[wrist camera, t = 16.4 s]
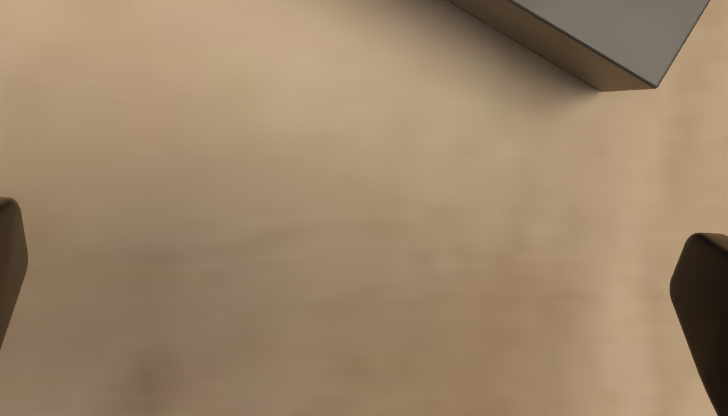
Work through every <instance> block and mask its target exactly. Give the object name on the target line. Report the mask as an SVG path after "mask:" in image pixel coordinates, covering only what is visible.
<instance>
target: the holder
mask: <svg viewBox="0 0 728 416" xmlns="http://www.w3.org/2000/svg"><path fill="white" fill-rule="evenodd" d="M447 1H449V2H450V3H452V4H454V5H456V6H457V7H459V8H461V9H462V10H464V11H466V12H467V13H469V14H471V15H472V16H474V17H476V18H478V19H479V20H481V21H483V22H484V23H486V24H488V25H489V26H491V27H493V28H494V29H496V30H498V31H500V32H501V33H503V34H505V35H506V36H508V37H510V38H511V39H513V40H515V41H516V42H518V43H520V44H522V45H523V46H525V47H527V48H528V49H530V50H532V51H533V52H535V53H537V54H538V55H540V56H542V57H543V58H545V59H547V60H549V61H550V62H552V63H554V64H555V65H557V66H559V67H560V68H562V69H564V70H565V71H567V72H569V73H571V74H572V75H574V76H576V77H577V78H579V79H581V80H582V81H584V82H586V83H587V84H589V85H591V86H593V87H594V88H596V89H598V90H599V91H601V92H608V91H624V90H641V89H656V88H657V87H658V86H659V84H660V83H661V81H662V79H663V78H664V76H665V74H666V73H667V71H668V69H669V68H670V66H671V64H672V63H673V61H674V59H675V58H676V56H677V54H678V53H679V51H680V50H681V48H682V46H683V45H684V43H685V41H686V40H687V38H688V36H689V35H690V33H691V31H692V30H693V28H694V26H695V25H696V23H697V21H698V20H699V18H700V16H701V15H702V13H703V11H704V10H705V8H706V7H707V5H708V3H709V2H710V0H447Z"/></svg>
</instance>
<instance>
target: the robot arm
mask: <svg viewBox="0 0 728 416" xmlns="http://www.w3.org/2000/svg"><path fill="white" fill-rule="evenodd" d="M27 265H28V252H27V245H26V239H25V233H24V227H23V221H22V215H21V210H20V207H19V205H18V203H17V202H16V201H15V200H14V199H12V198H5V197H0V349H1V346H2V343H3V340H4V337H5V334H6V331H7V328H8V325H9V322H10V319H11V316H12V313H13V310H14V307H15V304H16V301H17V298H18V295H19V292H20V289H21V286H22V283H23V280H24V277H25V274H26V271H27ZM670 296H671V300H672V303H673V305H674V308H675V311H676V314H677V316H678V319H679V322H680V324H681V327H682V330H683V332H684V335H685V338H686V341H687V343H688V346H689V349H690V351H691V354H692V357H693V359H694V362H695V365H696V367H697V370H698V373H699V375H700V378H701V380H702V383H703V385H704V388H705V390H706V392H707V394H708V396H709V398H710V401H711V403H712V405H713V407H714V409H715V411H716V413H717V415H718V416H728V236H726V235H723V234H715V233H695V234H693V235H691V236H690V237H689V238H688V239H687V241H686V243H685V245H684V248H683V250H682V253H681V255H680V258H679V260H678V263H677V265H676V268H675V270H674V273H673V275H672V278H671V282H670Z"/></svg>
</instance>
